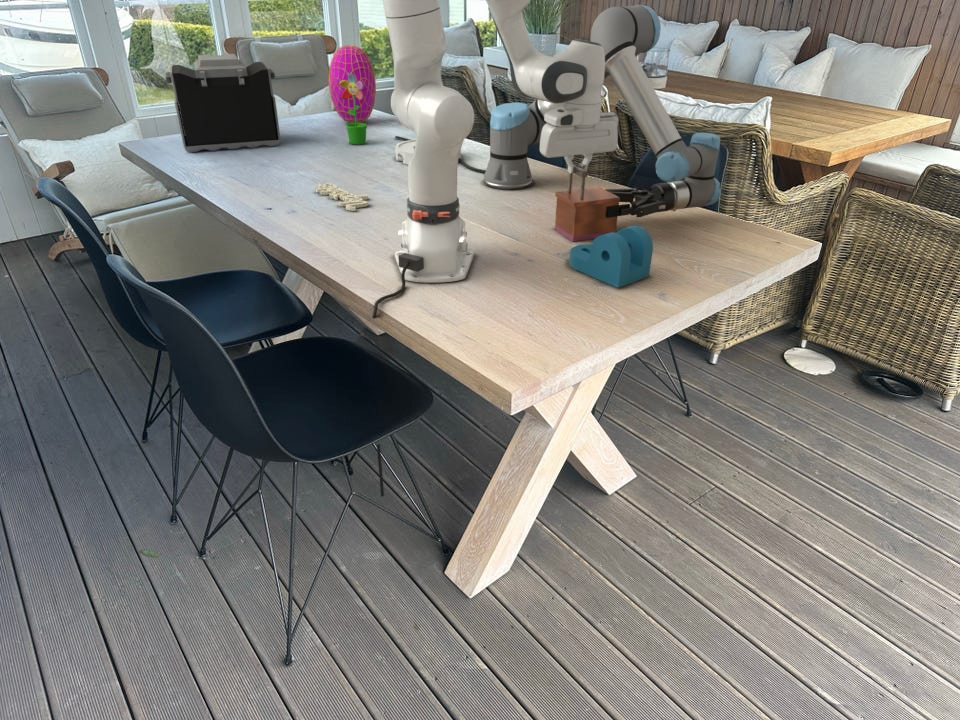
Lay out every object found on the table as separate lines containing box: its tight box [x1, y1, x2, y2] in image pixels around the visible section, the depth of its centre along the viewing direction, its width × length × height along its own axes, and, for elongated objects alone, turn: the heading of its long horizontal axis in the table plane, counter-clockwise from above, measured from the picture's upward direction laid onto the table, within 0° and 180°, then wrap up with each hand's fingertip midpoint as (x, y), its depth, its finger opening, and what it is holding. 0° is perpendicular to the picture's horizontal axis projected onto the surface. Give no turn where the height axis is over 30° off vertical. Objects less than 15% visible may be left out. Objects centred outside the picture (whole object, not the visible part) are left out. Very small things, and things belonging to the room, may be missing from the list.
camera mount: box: [568, 224, 654, 289], centre depth 156 cm, size 18×10×10 cm, turn 39°
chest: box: [554, 197, 620, 242], centre depth 178 cm, size 13×10×9 cm
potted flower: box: [339, 73, 368, 145], centre depth 255 cm, size 9×8×25 cm
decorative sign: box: [315, 182, 369, 212], centre depth 203 cm, size 26×1×10 cm
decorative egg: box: [328, 44, 377, 124], centre depth 286 cm, size 19×19×30 cm
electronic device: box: [164, 53, 282, 153], centre depth 252 cm, size 37×22×30 cm, turn 111°
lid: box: [554, 166, 620, 207], centre depth 173 cm, size 13×10×8 cm
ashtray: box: [394, 138, 462, 165], centre depth 243 cm, size 23×23×4 cm
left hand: (577, 172), depth 171 cm, fingers closed on lid, 2 cm apart
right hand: (596, 206), depth 178 cm, fingers closed on chest, 10 cm apart
